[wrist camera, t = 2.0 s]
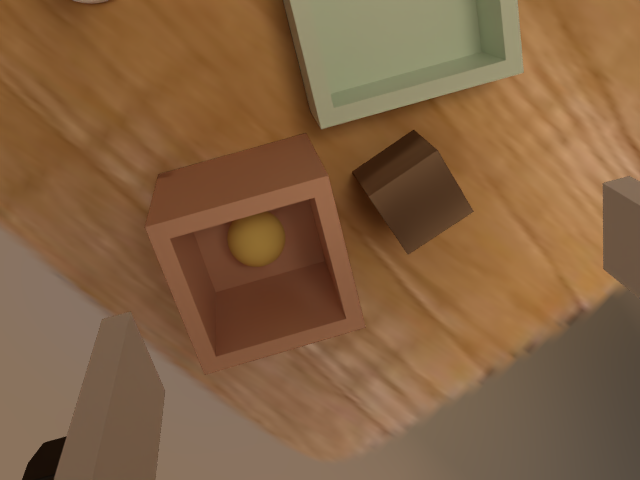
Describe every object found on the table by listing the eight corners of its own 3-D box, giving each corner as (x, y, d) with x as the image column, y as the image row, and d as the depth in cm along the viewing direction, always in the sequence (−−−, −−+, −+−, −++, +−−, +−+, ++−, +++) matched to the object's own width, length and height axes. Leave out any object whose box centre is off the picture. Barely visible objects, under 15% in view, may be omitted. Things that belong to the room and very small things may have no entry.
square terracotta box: (158, 174, 32) (144, 227, 26) (306, 133, 32) (328, 175, 26) (206, 301, 35) (204, 374, 29) (339, 262, 36) (365, 327, 29)
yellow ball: (219, 209, 32) (220, 232, 30) (274, 194, 33) (279, 215, 30) (236, 258, 34) (237, 284, 31) (288, 243, 34) (295, 267, 31)
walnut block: (352, 171, 34) (368, 196, 30) (413, 129, 33) (437, 150, 30) (387, 224, 35) (407, 254, 32) (446, 185, 35) (473, 211, 31)
